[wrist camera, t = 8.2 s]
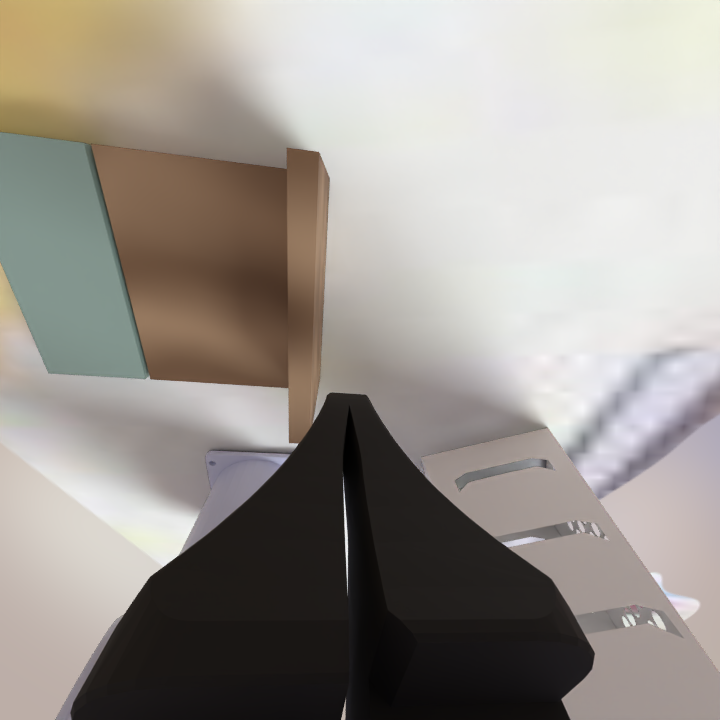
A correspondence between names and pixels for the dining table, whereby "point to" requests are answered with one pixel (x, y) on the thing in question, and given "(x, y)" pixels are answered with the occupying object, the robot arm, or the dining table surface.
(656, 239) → the dining table surface
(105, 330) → the panel
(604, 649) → the grater
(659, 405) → the dining table surface
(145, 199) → the cart bed
